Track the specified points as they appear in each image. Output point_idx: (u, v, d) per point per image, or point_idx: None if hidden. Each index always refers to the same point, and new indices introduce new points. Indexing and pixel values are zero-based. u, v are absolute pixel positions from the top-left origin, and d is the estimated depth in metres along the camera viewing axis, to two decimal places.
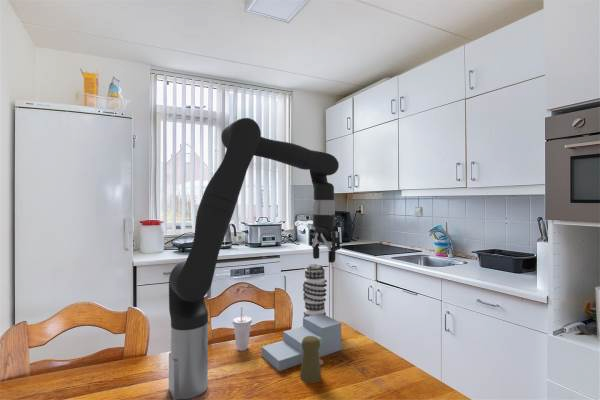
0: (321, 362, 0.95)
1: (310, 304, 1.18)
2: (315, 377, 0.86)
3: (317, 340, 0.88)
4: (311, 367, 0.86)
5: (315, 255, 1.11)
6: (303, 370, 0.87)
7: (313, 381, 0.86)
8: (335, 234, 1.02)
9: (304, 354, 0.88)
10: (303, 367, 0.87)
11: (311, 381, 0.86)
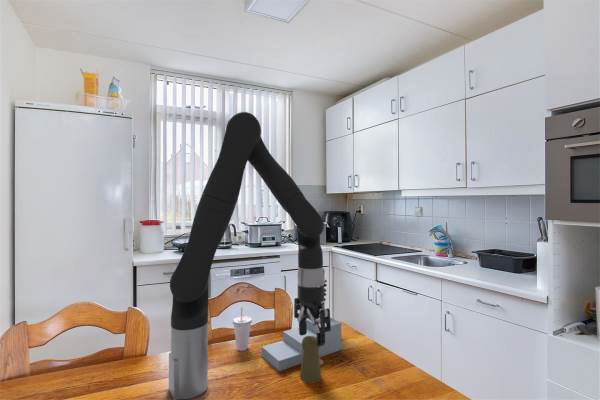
0: (321, 362, 0.95)
1: None
2: (315, 377, 0.86)
3: None
4: (311, 367, 0.86)
5: (301, 331, 0.92)
6: (303, 370, 0.87)
7: (313, 381, 0.86)
8: (324, 313, 0.83)
9: (304, 354, 0.88)
10: (303, 367, 0.87)
11: (311, 381, 0.86)
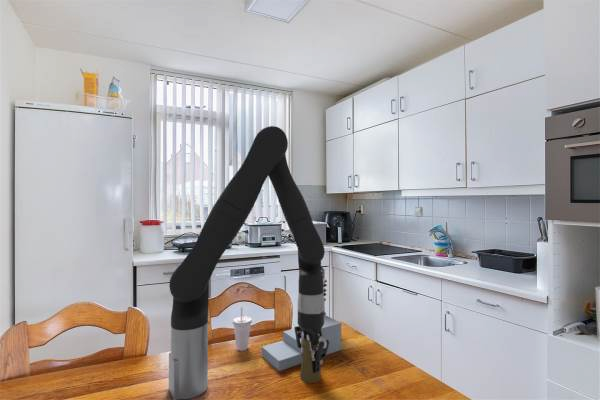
0: (321, 362, 0.95)
1: None
2: (315, 377, 0.86)
3: None
4: (311, 367, 0.86)
5: None
6: (303, 370, 0.87)
7: (313, 381, 0.86)
8: (323, 346, 0.83)
9: (304, 354, 0.88)
10: (303, 367, 0.87)
11: (311, 381, 0.86)
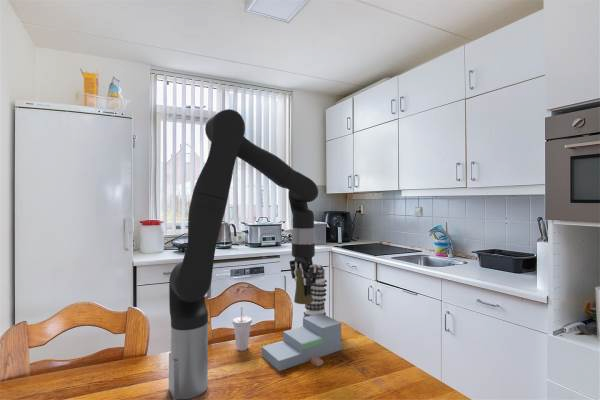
0: (321, 362, 0.95)
1: (310, 304, 1.18)
2: (307, 300, 1.00)
3: None
4: (303, 291, 1.00)
5: None
6: (297, 294, 1.01)
7: (305, 303, 1.00)
8: (313, 270, 0.97)
9: (297, 281, 1.01)
10: (296, 292, 1.01)
11: (303, 303, 0.99)
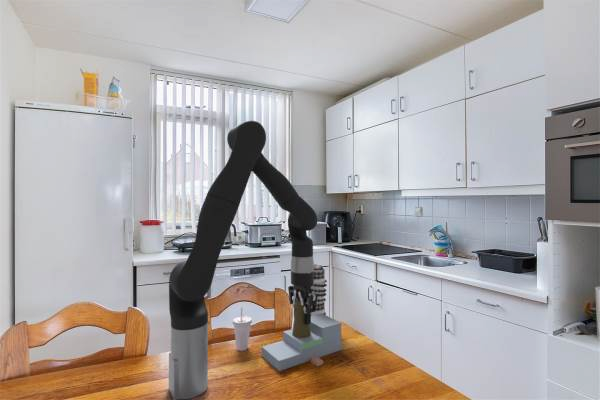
0: (321, 362, 0.95)
1: None
2: (305, 333, 1.01)
3: (307, 302, 1.02)
4: (302, 324, 1.01)
5: None
6: (295, 327, 1.01)
7: (303, 336, 1.00)
8: (312, 298, 0.97)
9: (296, 314, 1.02)
10: (295, 325, 1.02)
11: (301, 336, 1.00)
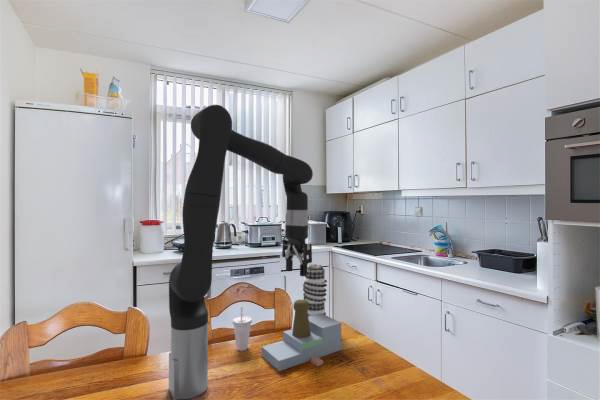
0: (321, 362, 0.95)
1: (310, 304, 1.18)
2: (305, 333, 1.01)
3: (307, 302, 1.02)
4: (302, 324, 1.01)
5: (288, 267, 1.06)
6: (295, 328, 1.01)
7: (303, 336, 1.00)
8: (307, 246, 0.97)
9: (295, 314, 1.02)
10: (295, 325, 1.02)
11: (301, 336, 1.00)
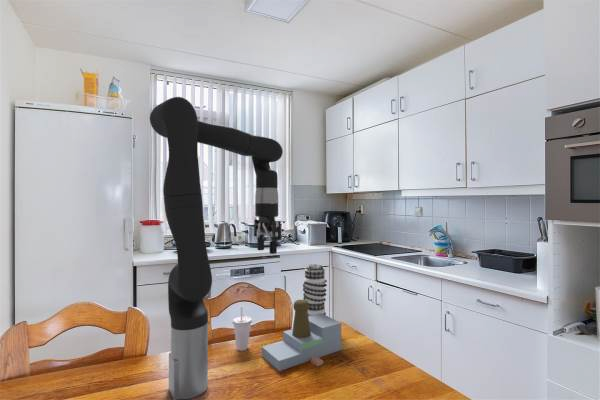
0: (321, 362, 0.95)
1: (310, 304, 1.18)
2: (305, 333, 1.01)
3: (307, 302, 1.02)
4: (302, 324, 1.01)
5: (259, 246, 1.06)
6: (295, 328, 1.01)
7: (303, 336, 1.00)
8: (275, 223, 0.97)
9: (295, 314, 1.02)
10: (295, 325, 1.02)
11: (301, 336, 1.00)
